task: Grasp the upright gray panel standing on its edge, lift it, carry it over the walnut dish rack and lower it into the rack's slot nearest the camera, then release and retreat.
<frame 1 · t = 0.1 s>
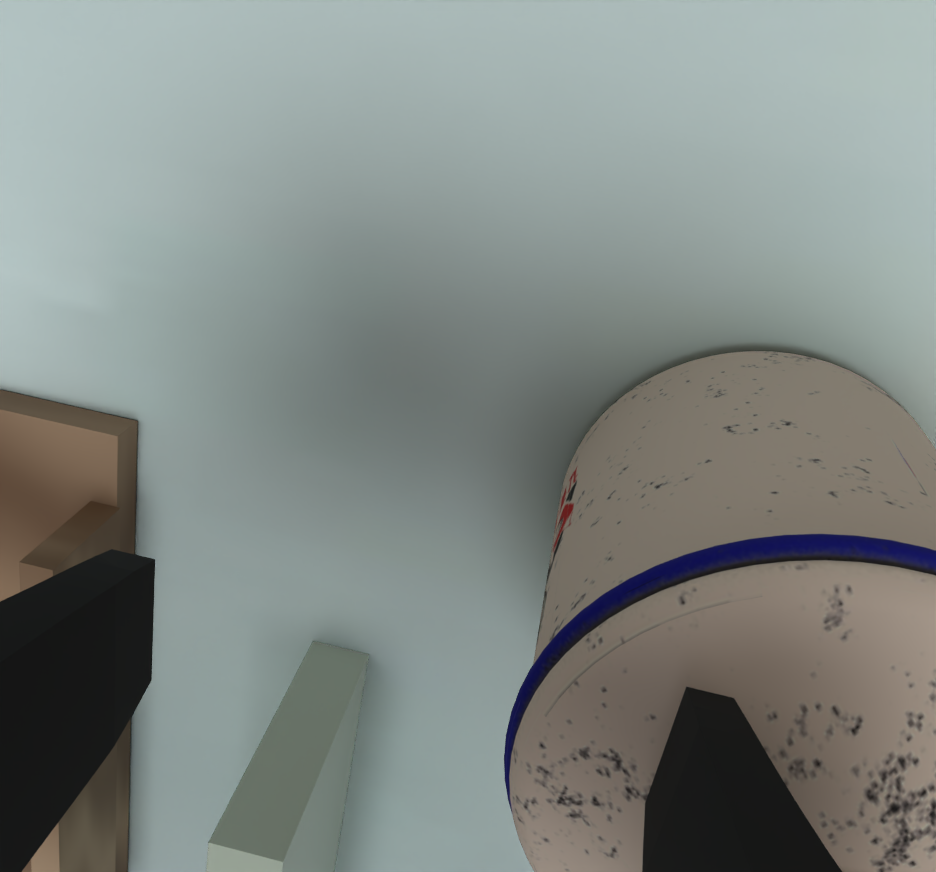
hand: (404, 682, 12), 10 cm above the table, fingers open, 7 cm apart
beige mug: (763, 561, 22), on the table, touching gripper
upright gray panel: (324, 767, 26), on the table
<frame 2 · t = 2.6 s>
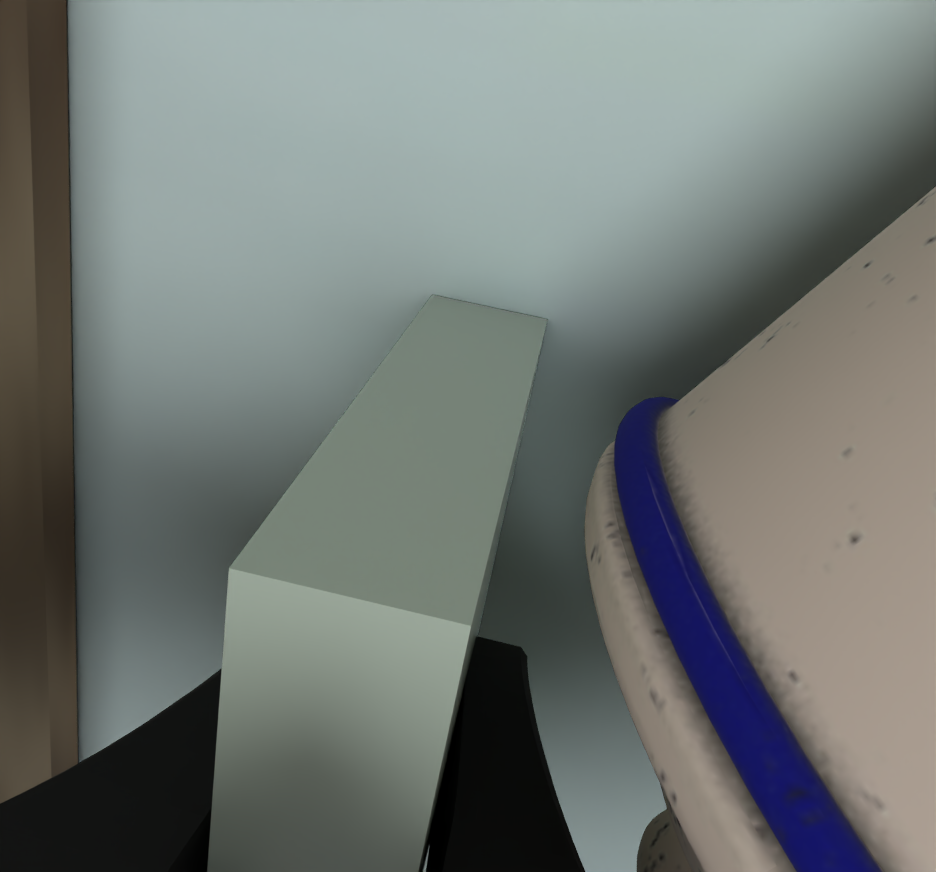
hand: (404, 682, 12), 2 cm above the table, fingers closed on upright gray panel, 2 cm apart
upright gray panel: (437, 581, 14), on the table, touching gripper
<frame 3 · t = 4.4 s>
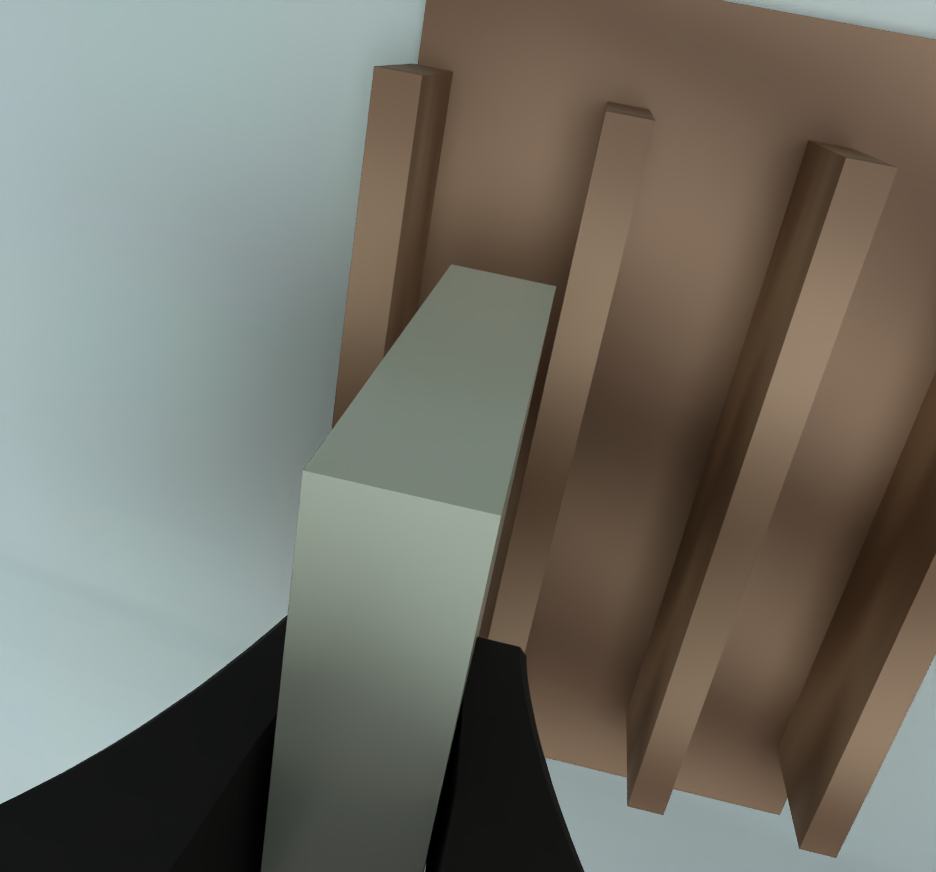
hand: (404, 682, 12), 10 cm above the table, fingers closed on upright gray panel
upright gray panel: (454, 529, 15), point 6 cm above the table, touching gripper
walnut rack: (635, 437, 20), on the table
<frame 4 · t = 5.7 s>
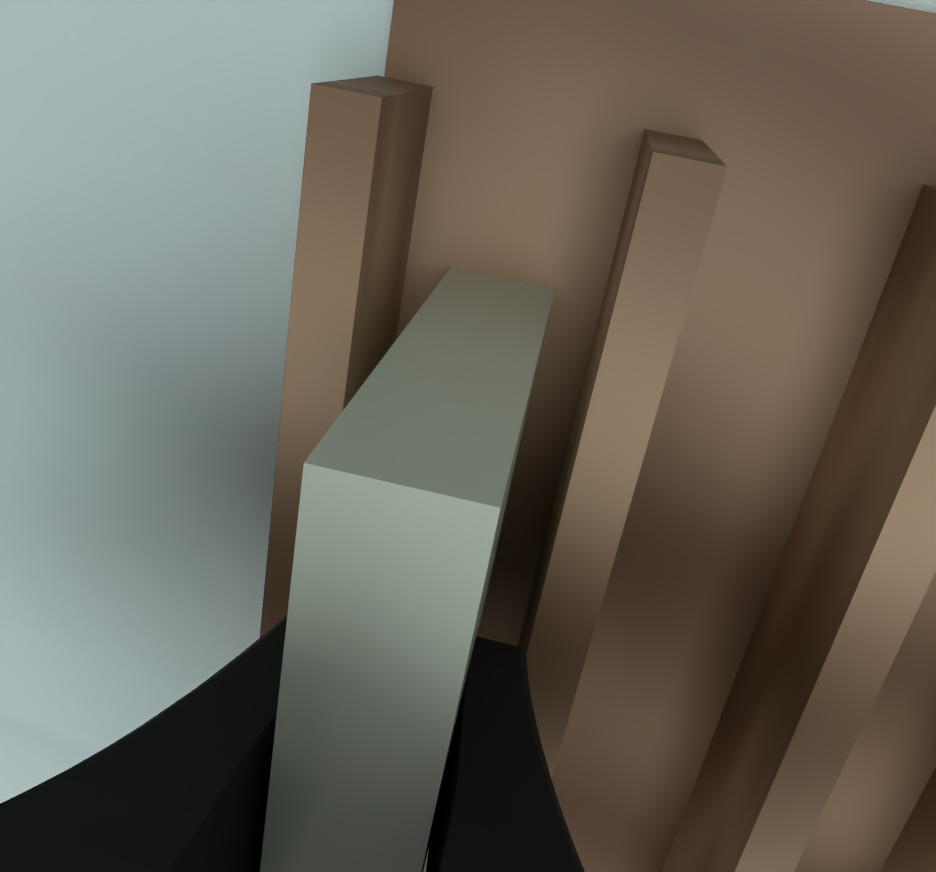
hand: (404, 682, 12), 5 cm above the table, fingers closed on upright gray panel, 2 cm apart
upright gray panel: (453, 531, 15), point 1 cm above the table, touching gripper, walnut rack
walnut rack: (670, 555, 16), on the table
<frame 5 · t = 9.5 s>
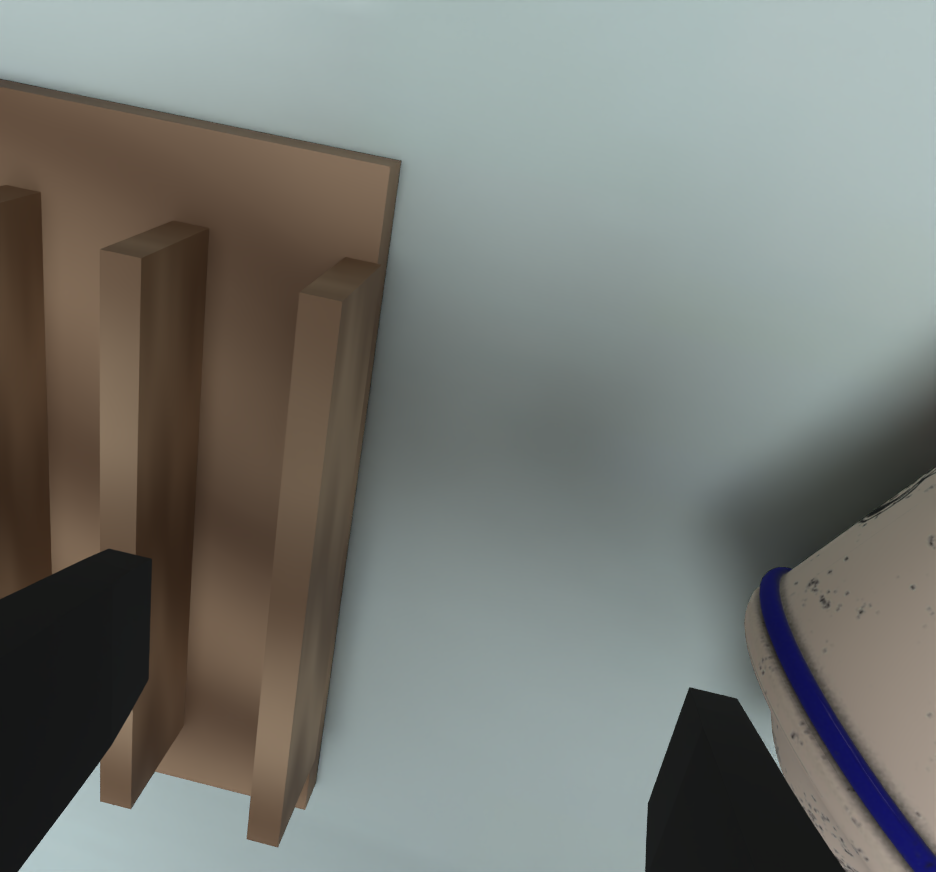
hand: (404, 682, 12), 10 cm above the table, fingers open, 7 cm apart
walnut rack: (126, 471, 23), on the table
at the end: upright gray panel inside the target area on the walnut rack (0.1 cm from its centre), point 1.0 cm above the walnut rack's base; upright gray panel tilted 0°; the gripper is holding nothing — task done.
